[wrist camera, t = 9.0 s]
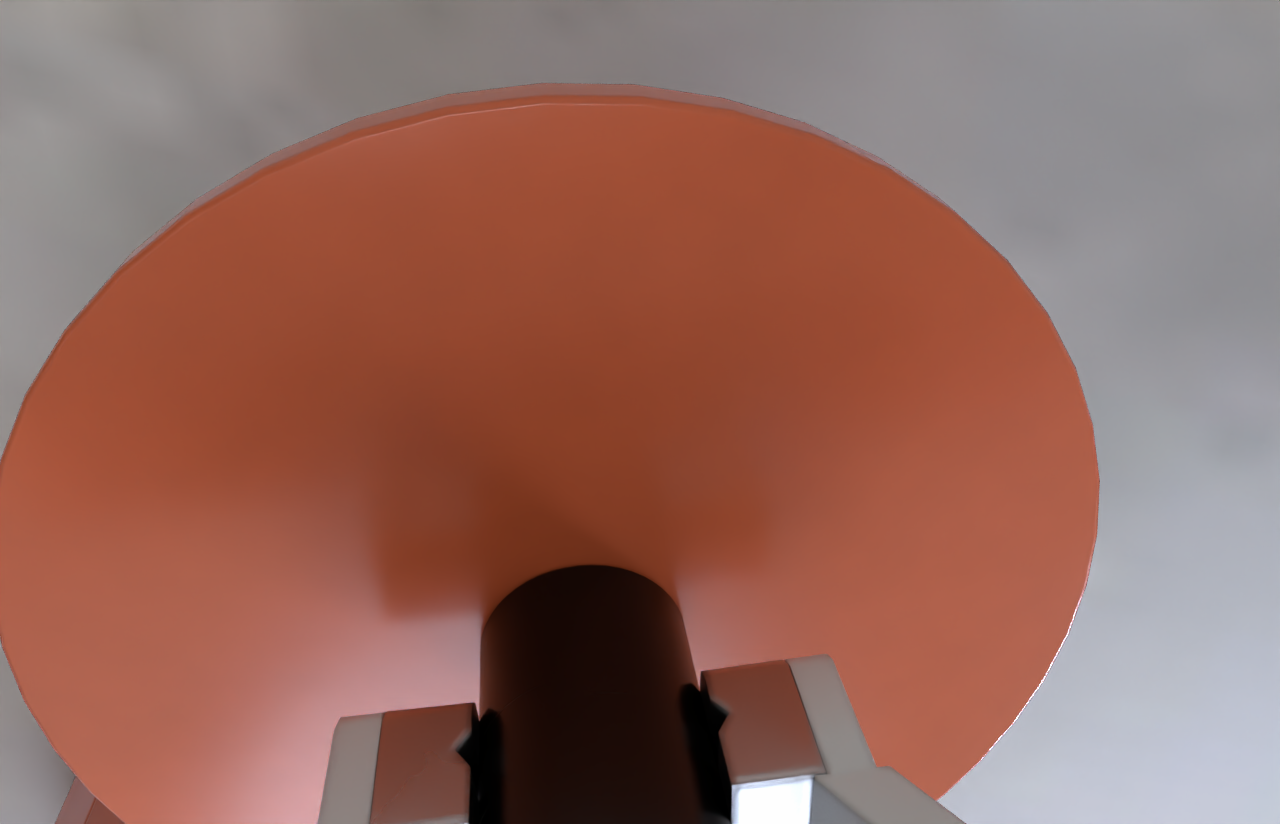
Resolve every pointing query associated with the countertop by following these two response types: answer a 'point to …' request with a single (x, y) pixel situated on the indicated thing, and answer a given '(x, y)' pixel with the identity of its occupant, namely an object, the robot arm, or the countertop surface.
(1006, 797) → the countertop surface
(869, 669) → the pot lid
